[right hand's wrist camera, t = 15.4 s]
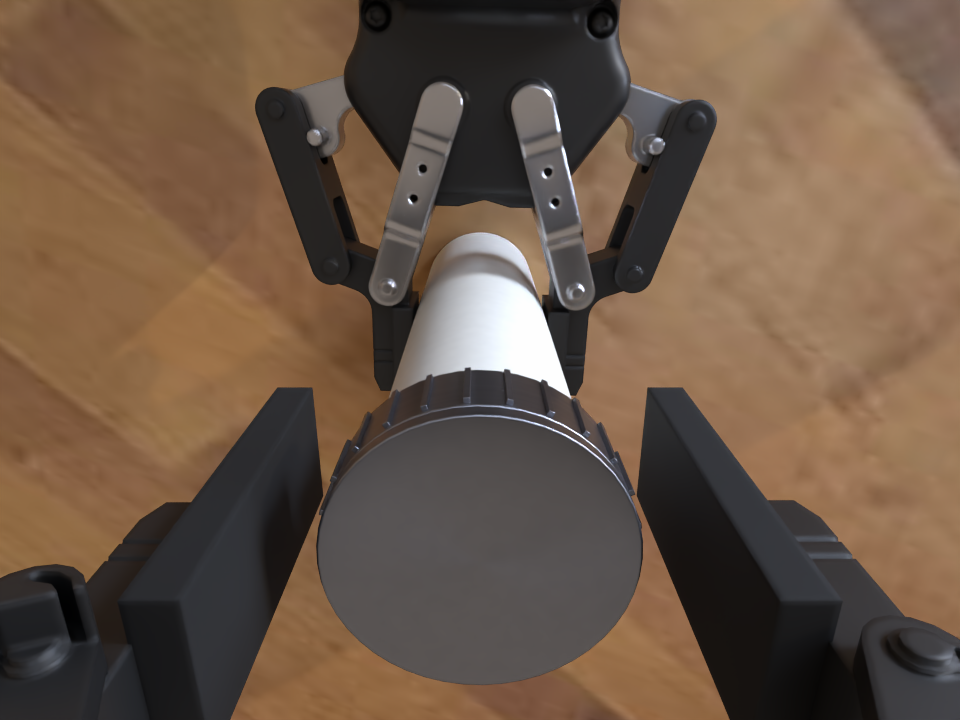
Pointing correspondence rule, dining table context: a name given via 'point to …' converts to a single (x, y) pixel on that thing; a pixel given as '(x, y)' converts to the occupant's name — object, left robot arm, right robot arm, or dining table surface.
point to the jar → (480, 317)
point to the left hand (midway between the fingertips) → (478, 398)
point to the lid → (479, 530)
